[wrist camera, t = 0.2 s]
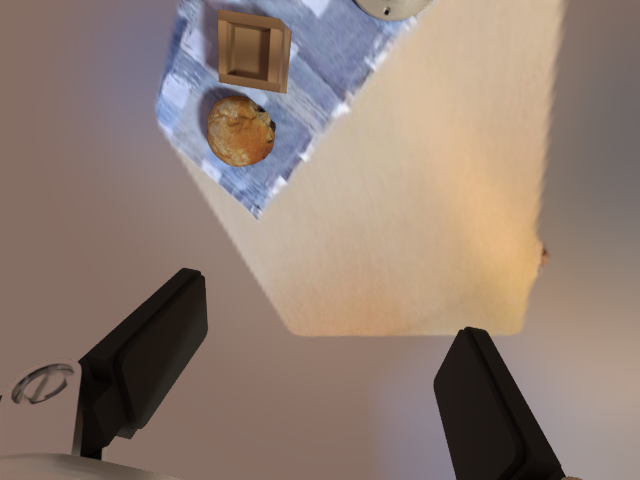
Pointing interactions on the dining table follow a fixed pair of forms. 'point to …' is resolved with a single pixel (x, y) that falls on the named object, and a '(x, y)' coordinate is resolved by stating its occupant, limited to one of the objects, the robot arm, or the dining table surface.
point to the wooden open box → (253, 51)
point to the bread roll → (240, 131)
